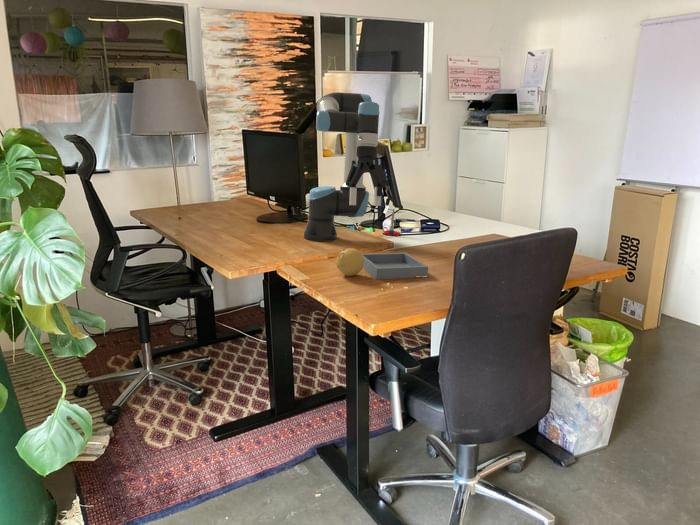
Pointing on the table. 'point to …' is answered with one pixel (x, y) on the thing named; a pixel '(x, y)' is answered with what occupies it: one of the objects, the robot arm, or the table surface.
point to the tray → (393, 266)
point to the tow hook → (391, 231)
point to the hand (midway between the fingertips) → (364, 205)
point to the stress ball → (350, 261)
